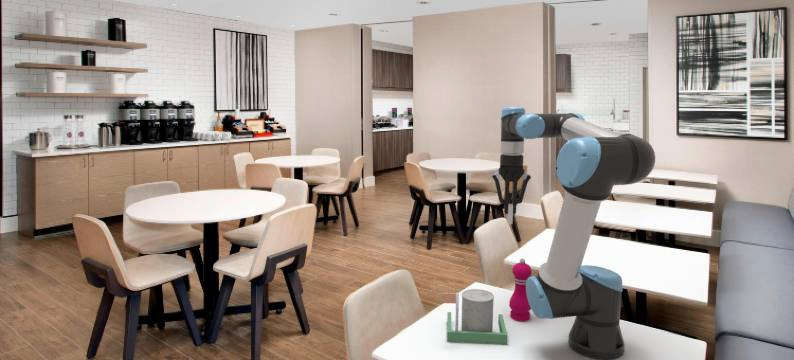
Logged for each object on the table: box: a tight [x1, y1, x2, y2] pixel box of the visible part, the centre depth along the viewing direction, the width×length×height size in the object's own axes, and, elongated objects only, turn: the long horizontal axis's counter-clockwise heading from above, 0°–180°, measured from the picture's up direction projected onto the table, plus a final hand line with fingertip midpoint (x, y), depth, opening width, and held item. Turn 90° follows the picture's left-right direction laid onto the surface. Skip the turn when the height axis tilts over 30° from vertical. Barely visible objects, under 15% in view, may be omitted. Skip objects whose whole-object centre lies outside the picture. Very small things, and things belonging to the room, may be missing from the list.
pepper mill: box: [508, 258, 532, 322], centre depth 166 cm, size 7×7×20 cm
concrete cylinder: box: [460, 288, 495, 332], centre depth 155 cm, size 10×10×12 cm
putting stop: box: [442, 292, 509, 345], centre depth 156 cm, size 19×14×15 cm
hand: (509, 223), depth 173 cm, fingers closed
